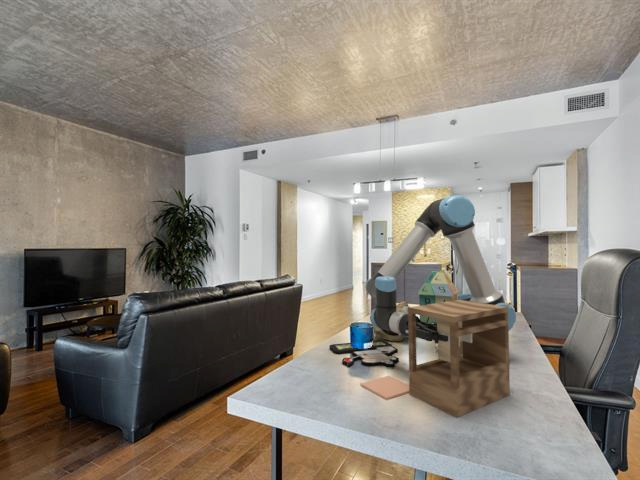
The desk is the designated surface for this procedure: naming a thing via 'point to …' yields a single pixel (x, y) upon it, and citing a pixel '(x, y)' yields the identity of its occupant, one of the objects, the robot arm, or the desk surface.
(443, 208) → the robot arm
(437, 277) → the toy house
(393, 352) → the sign
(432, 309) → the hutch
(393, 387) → the terracotta tile
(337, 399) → the desk surface
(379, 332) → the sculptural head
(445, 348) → the beech block
